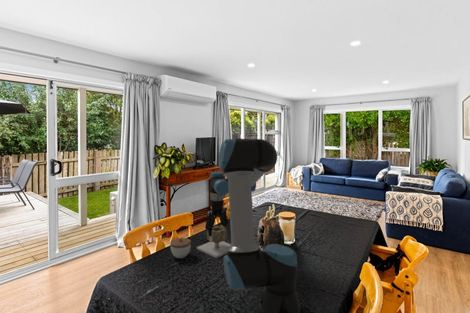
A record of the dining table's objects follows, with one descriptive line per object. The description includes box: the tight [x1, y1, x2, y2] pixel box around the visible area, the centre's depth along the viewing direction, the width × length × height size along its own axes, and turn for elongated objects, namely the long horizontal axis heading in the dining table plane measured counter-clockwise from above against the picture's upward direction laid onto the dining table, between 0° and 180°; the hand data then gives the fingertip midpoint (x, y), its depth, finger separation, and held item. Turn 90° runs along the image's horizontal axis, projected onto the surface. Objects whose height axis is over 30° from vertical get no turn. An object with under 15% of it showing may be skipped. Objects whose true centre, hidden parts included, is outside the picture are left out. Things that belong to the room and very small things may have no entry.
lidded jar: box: [169, 237, 192, 259], centre depth 140 cm, size 11×11×9 cm
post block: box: [196, 240, 231, 259], centre depth 149 cm, size 16×16×8 cm
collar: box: [206, 225, 228, 244], centre depth 148 cm, size 8×8×6 cm
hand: (216, 238), depth 149 cm, fingers closed on collar, 8 cm apart
